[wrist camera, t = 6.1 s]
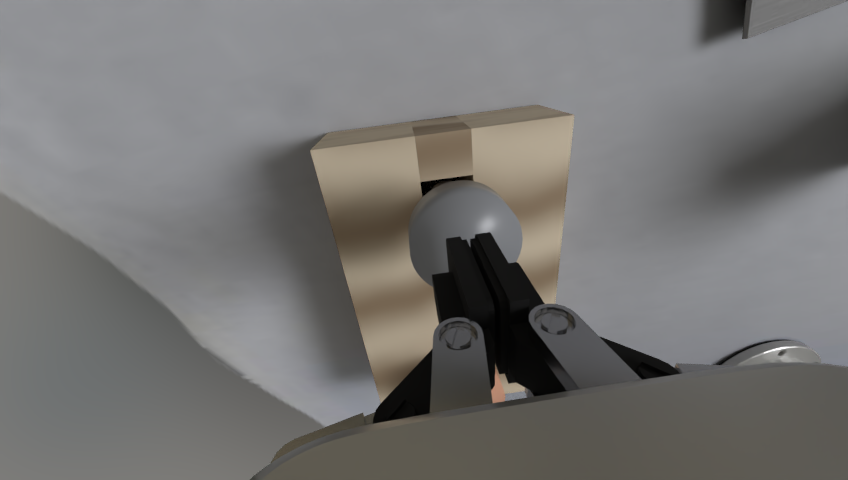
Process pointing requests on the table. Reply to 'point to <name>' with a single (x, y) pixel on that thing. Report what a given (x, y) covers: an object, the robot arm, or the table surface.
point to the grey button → (459, 224)
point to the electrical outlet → (779, 13)
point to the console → (401, 191)
